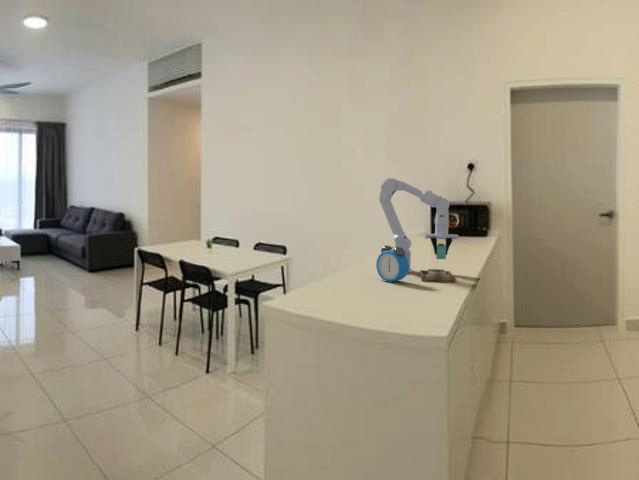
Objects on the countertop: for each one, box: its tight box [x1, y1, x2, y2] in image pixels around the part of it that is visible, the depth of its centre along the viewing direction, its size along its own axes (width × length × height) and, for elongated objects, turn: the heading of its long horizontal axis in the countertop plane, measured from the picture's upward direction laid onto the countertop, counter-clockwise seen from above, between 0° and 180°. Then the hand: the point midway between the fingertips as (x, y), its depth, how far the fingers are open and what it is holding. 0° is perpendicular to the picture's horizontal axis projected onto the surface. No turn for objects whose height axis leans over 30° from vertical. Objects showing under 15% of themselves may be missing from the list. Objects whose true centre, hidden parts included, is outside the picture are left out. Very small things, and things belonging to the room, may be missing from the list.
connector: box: [435, 242, 447, 260], centre depth 207 cm, size 4×4×7 cm
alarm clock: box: [376, 244, 409, 284], centre depth 191 cm, size 13×6×15 cm, turn 44°
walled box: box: [419, 268, 455, 283], centre depth 197 cm, size 13×13×4 cm
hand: (440, 254), depth 207 cm, fingers closed on connector, 4 cm apart
